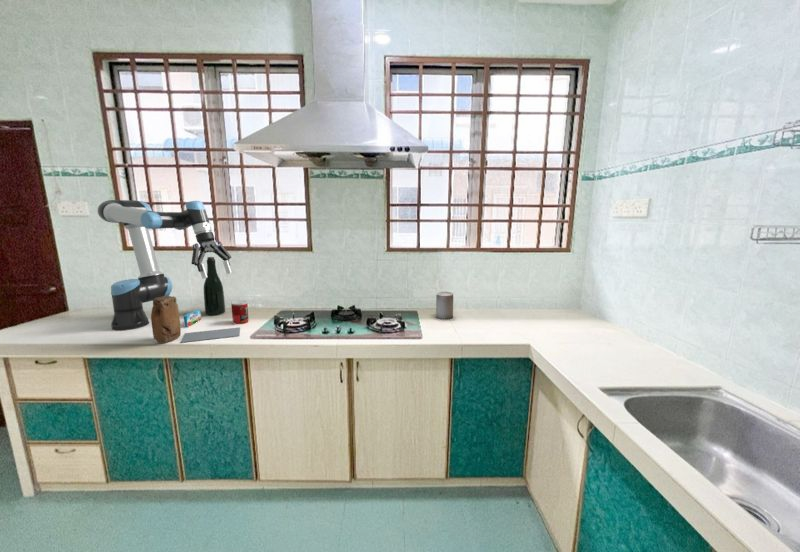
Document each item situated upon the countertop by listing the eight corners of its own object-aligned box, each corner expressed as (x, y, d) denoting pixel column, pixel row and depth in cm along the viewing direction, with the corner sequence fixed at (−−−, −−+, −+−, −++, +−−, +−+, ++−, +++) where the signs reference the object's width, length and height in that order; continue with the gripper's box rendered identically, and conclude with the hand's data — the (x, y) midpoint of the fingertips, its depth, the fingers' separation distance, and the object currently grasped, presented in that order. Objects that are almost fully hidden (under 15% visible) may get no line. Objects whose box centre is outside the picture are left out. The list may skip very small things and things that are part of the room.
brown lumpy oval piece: (168, 335, 164) (163, 294, 160) (183, 336, 163) (179, 295, 160) (151, 344, 153) (145, 300, 150) (167, 344, 153) (162, 300, 149)
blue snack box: (187, 327, 176) (186, 315, 175) (184, 327, 176) (183, 315, 175) (201, 320, 188) (200, 309, 187) (198, 320, 188) (197, 309, 187)
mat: (185, 333, 166) (185, 333, 166) (240, 328, 176) (240, 327, 176) (180, 343, 155) (180, 342, 155) (239, 336, 164) (239, 335, 164)
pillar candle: (452, 314, 202) (453, 289, 200) (453, 319, 193) (453, 293, 190) (435, 314, 203) (436, 289, 201) (435, 319, 194) (436, 292, 191)
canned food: (242, 324, 181) (241, 304, 179) (229, 323, 182) (227, 303, 180) (251, 320, 188) (250, 300, 186) (238, 319, 190) (237, 300, 188)
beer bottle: (229, 312, 202) (224, 256, 197) (211, 317, 194) (206, 258, 188) (219, 310, 208) (214, 255, 202) (201, 314, 199) (196, 257, 193)
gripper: (184, 232, 153) (199, 278, 155) (230, 229, 176) (243, 269, 177) (173, 237, 156) (188, 281, 158) (220, 234, 179) (233, 273, 180)
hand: (217, 275), depth 168 cm, fingers open, 13 cm apart
